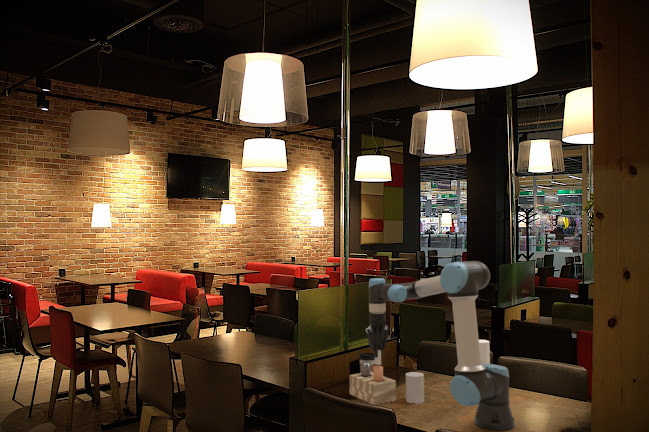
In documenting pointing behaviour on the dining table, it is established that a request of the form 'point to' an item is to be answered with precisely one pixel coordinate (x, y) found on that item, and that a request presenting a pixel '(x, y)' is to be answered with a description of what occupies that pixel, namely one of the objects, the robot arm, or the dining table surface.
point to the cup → (415, 387)
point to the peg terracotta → (378, 373)
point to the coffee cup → (367, 359)
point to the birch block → (372, 389)
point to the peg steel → (365, 369)
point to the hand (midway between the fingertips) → (378, 364)
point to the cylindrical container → (484, 351)
